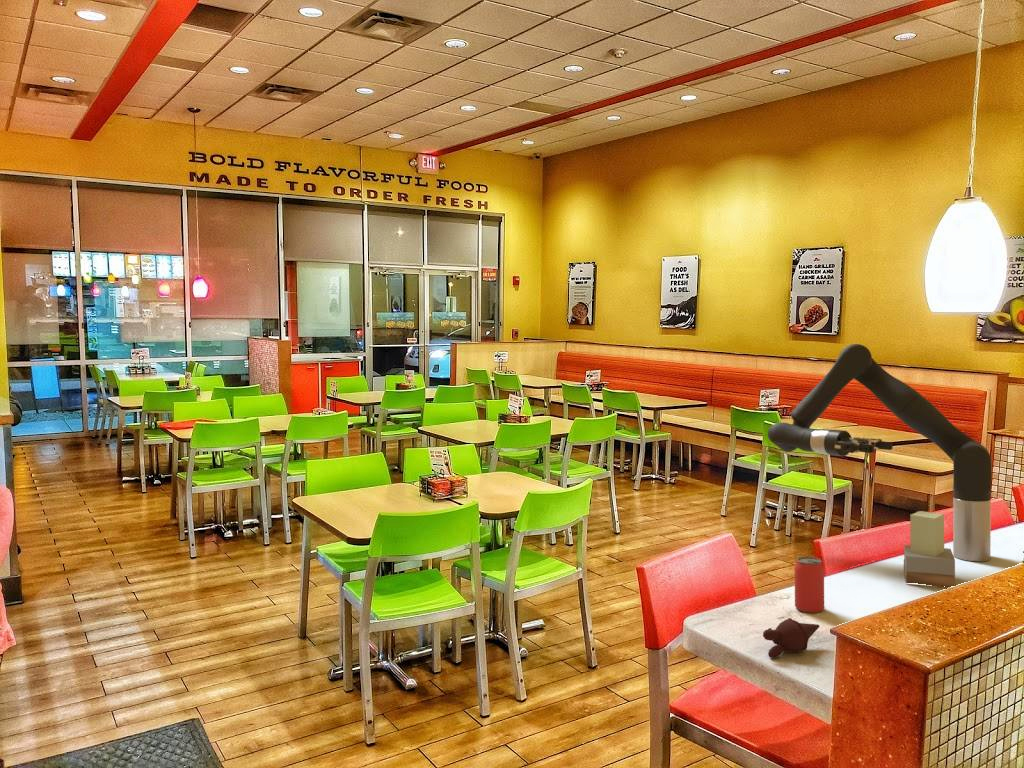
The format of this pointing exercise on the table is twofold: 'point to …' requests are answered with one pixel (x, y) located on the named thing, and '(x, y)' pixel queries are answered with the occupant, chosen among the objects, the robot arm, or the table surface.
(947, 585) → the tower base block
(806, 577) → the beer can
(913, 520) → the sage block
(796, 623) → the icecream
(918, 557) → the tower top block
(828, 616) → the table surface
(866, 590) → the table surface
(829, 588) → the table surface
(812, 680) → the table surface
